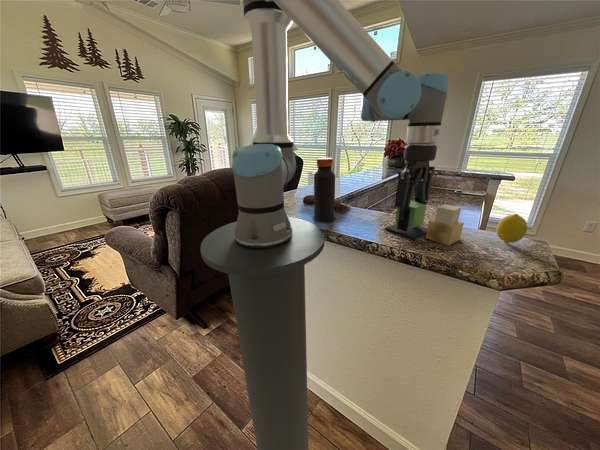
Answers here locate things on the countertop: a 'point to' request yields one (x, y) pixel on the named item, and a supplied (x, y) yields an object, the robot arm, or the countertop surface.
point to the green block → (414, 214)
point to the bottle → (324, 190)
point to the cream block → (447, 214)
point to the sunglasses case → (337, 204)
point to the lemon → (511, 228)
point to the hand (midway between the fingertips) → (408, 227)
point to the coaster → (408, 231)
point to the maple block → (444, 232)
